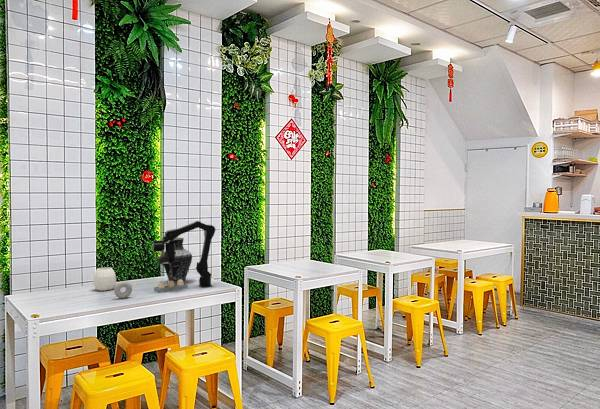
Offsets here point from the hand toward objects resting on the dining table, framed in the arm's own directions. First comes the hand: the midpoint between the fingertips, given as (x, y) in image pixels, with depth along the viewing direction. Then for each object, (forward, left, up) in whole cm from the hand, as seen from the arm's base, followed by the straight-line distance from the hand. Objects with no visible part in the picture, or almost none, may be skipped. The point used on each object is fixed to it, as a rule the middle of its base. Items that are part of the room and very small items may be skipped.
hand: (170, 275), depth 303 cm
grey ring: (+31, +5, -9) cm, 32 cm away
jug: (-12, -19, -9) cm, 24 cm away
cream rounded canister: (+32, -27, -9) cm, 43 cm away
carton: (0, 0, -9) cm, 9 cm away
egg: (0, 0, -8) cm, 8 cm away
